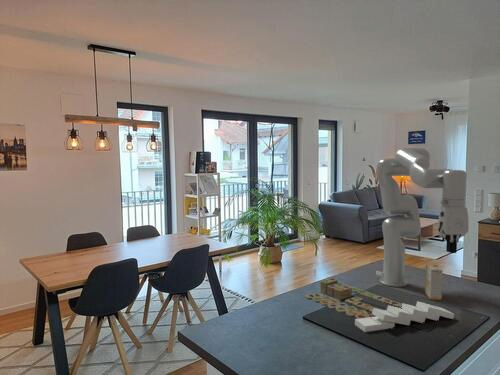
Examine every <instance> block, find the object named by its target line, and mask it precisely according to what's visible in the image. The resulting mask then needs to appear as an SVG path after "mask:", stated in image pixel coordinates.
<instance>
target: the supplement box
mask: <svg viewBox="0 0 500 375" xmlns="http://www.w3.org/2000/svg"><path fill="white" fill-rule="evenodd" d="M424 287H425V288H424V294H425V295H426V297H428V299H429V300H432V301H433V300H434V301H442V296H443V295H442V294H443V292H442V291H443V269H442V268H441V267H440V266H439V265H437V264H425V286H424Z"/></svg>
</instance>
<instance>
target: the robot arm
mask: <svg viewBox="0 0 500 375" xmlns="http://www.w3.org/2000/svg"><path fill="white" fill-rule="evenodd" d="M430 161H431V155H430V153H429V150H427V149H425V148H423V147H421V148H420V147H404V148H403V147H402V148H400V149H399V150H397V151H396V153H395V155H394V157H393V158H392V157H391V158H383V159H380V160H379V161H378V162H377V165H376V168H375V175H376V179H377V181H378V185H379V188H380V194H381V201H382V208H383V209H382V210H383V212H384V214H386V215H388V216H389V215H391V216H395V217H388V218H385V219H384V221H382V224H381V228H382V235H383V266H382V267H383V270H382V271H379V270H376V271H375V275H376V276H377V277H380V278H379V283H381V284H383V285H384V286H387V287H396V288H400V287H401V288H402V287H407V286H408V285H409V281H407V279H405V270H406V268H405V267H406V266H405V265H406V262H405V261H406V246H405V243H404V242H403V241H402V239H401V238H415V237H418V236H419V235H420V233H421V230H422V228H421V227H422V224H421V219H420V212H419V206H418V202H417V200H416V198H415V197H414V196H413V195H410V194H406V195H405V194H403V195H402V194H401V192H400V185H399V184H398V182H397V180H396V179H395V178H393V177H409V178H410V180H411V182H413V183H414V184H415V185H417V186H419V187H420V188H423V189H442V197H441V201H440V204H441V206H440V209H439V213H438V219H437V231H438V233H439V235H438V237H440V238H443V239H444V241H445V242H446V247H445V249H446V250H445V251H446V252H447V253H449V254H456V253H457V247H458V243H459V242H460V241H459V240H460V238H462V237H465V236H466V235H467V234H468V233H469V214H468V213H469V212H468V208H467V207H466V195H467V194H466V193H467V192H466V191H467V172H466V171H465V170H462V169H451V168H430V166H431V164H430ZM396 216H399V217H396ZM400 216H404V217H400Z"/></svg>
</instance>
